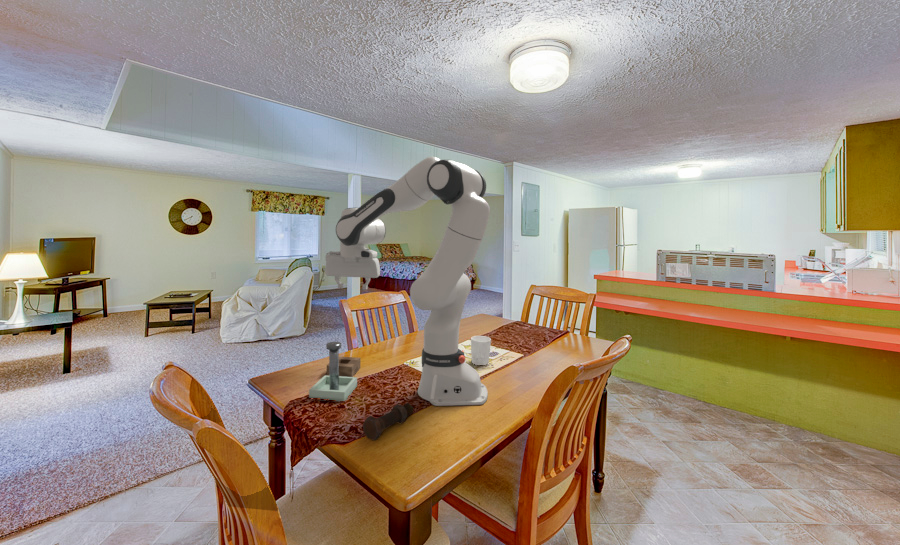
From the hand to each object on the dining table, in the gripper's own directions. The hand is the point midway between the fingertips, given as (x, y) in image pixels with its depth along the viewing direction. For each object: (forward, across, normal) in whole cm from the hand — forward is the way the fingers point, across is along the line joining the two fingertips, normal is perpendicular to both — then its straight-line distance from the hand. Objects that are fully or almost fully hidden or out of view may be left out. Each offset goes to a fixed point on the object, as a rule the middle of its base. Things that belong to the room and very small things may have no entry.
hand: (352, 288), depth 134 cm
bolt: (+30, +26, -41) cm, 57 cm away
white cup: (+29, +49, +8) cm, 58 cm away
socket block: (+29, 0, -9) cm, 30 cm away
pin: (+28, +3, -25) cm, 38 cm away
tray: (+29, +3, -25) cm, 38 cm away
